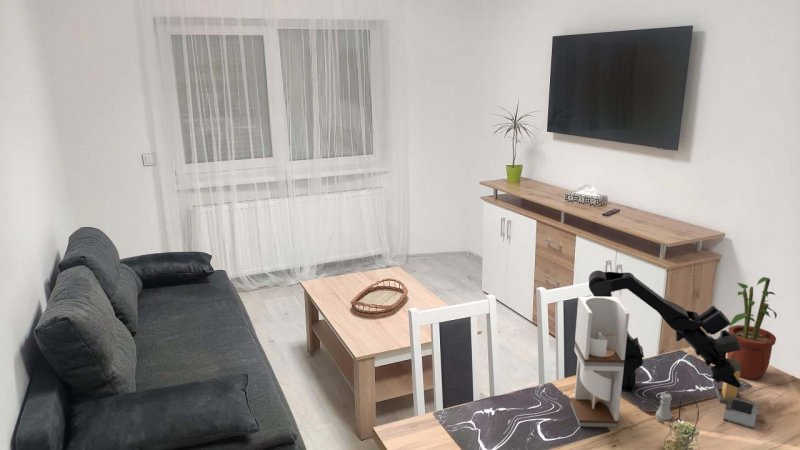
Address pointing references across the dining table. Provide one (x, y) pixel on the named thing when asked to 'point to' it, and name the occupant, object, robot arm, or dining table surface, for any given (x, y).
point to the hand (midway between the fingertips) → (736, 380)
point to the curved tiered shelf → (599, 360)
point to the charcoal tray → (720, 397)
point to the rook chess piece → (664, 408)
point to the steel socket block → (741, 412)
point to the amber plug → (727, 388)
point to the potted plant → (753, 336)
